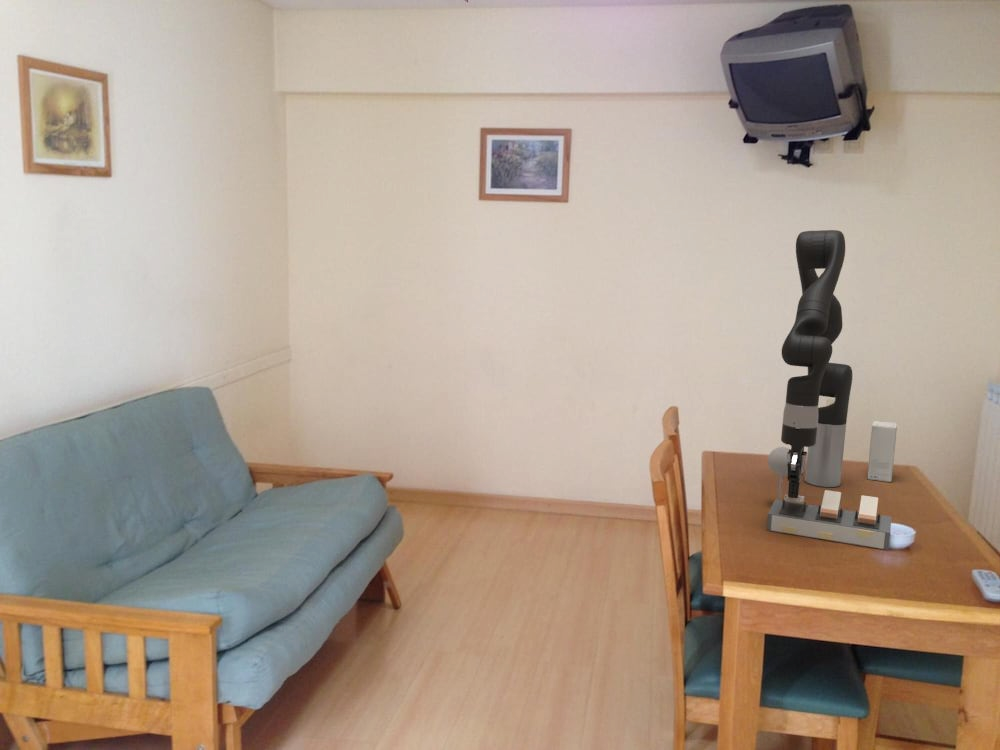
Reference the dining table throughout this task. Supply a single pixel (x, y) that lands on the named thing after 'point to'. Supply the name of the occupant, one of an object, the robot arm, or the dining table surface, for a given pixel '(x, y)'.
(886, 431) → the skincare box
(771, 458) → the lollipop
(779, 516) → the switch unit
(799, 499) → the switch
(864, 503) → the switch
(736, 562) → the dining table surface
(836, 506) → the switch
